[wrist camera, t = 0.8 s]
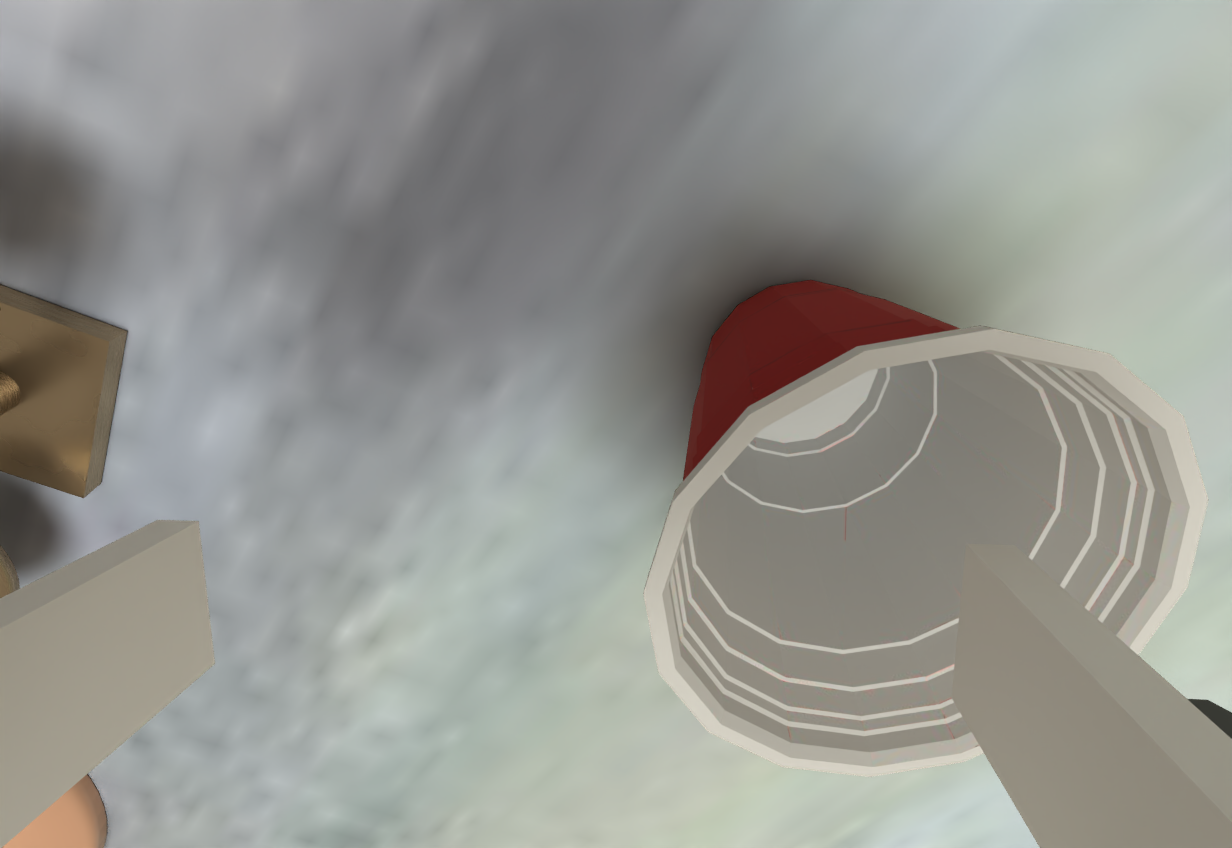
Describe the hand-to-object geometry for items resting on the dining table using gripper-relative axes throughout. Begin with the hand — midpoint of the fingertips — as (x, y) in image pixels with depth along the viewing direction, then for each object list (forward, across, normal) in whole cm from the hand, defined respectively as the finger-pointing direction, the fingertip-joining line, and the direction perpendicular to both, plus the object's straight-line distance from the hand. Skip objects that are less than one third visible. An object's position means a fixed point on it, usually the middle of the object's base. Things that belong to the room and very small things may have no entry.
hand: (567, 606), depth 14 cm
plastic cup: (+14, +6, +2) cm, 15 cm away
